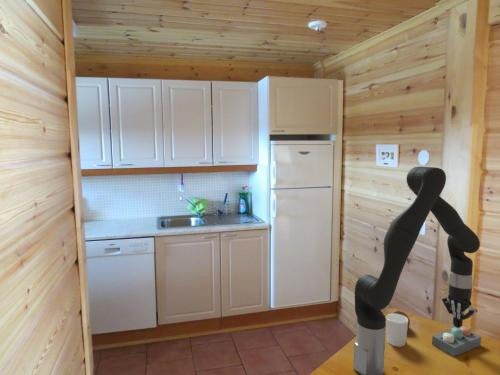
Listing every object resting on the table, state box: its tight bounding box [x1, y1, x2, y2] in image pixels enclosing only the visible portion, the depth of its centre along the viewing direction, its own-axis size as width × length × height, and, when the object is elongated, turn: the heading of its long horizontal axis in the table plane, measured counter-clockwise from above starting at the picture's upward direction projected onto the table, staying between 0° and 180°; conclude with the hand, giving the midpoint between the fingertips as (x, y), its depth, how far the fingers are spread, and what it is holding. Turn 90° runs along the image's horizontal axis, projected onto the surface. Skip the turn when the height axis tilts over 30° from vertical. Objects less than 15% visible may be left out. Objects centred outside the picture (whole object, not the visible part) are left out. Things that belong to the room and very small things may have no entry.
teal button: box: [451, 326, 463, 341], centre depth 136 cm, size 4×4×4 cm
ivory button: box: [443, 333, 454, 344], centre depth 134 cm, size 4×4×4 cm
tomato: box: [393, 310, 411, 330], centre depth 149 cm, size 8×8×7 cm
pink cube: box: [460, 326, 472, 337], centre depth 139 cm, size 4×4×4 cm
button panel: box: [431, 327, 482, 357], centre depth 137 cm, size 16×9×4 cm, turn 116°
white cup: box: [385, 312, 409, 347], centre depth 139 cm, size 8×8×10 cm
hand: (457, 326), depth 136 cm, fingers closed
